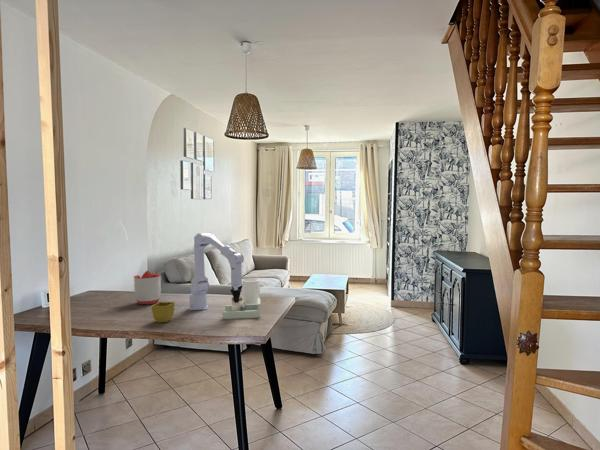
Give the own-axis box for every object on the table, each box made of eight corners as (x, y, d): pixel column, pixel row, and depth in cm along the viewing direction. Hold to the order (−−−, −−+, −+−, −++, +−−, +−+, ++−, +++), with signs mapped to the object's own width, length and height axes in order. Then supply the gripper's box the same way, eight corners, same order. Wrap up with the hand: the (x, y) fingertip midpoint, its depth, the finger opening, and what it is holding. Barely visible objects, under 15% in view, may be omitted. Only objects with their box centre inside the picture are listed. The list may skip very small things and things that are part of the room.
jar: (261, 302, 241) (261, 278, 240) (258, 307, 230) (257, 281, 230) (244, 302, 242) (244, 278, 241) (240, 306, 231) (239, 281, 231)
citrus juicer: (154, 298, 257) (153, 267, 256) (165, 302, 245) (165, 270, 244) (129, 302, 247) (128, 270, 246) (140, 307, 234) (139, 273, 233)
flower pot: (151, 323, 200) (150, 305, 200) (159, 318, 209) (159, 301, 208) (167, 323, 199) (167, 306, 198) (175, 319, 208) (175, 302, 207)
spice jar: (231, 316, 211) (231, 299, 211) (232, 313, 217) (231, 296, 217) (242, 315, 212) (242, 298, 211) (243, 312, 218) (242, 296, 217)
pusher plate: (242, 316, 209) (241, 307, 209) (243, 311, 220) (242, 302, 220) (245, 316, 209) (244, 307, 209) (245, 311, 220) (245, 302, 220)
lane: (222, 318, 206) (222, 305, 206) (225, 311, 221) (225, 299, 221) (260, 317, 208) (260, 304, 208) (260, 310, 223) (260, 297, 223)
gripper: (243, 277, 207) (243, 303, 207) (244, 273, 221) (244, 297, 222) (229, 278, 206) (230, 304, 207) (231, 273, 220) (232, 297, 221)
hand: (236, 300), depth 214 cm, fingers open, 7 cm apart
